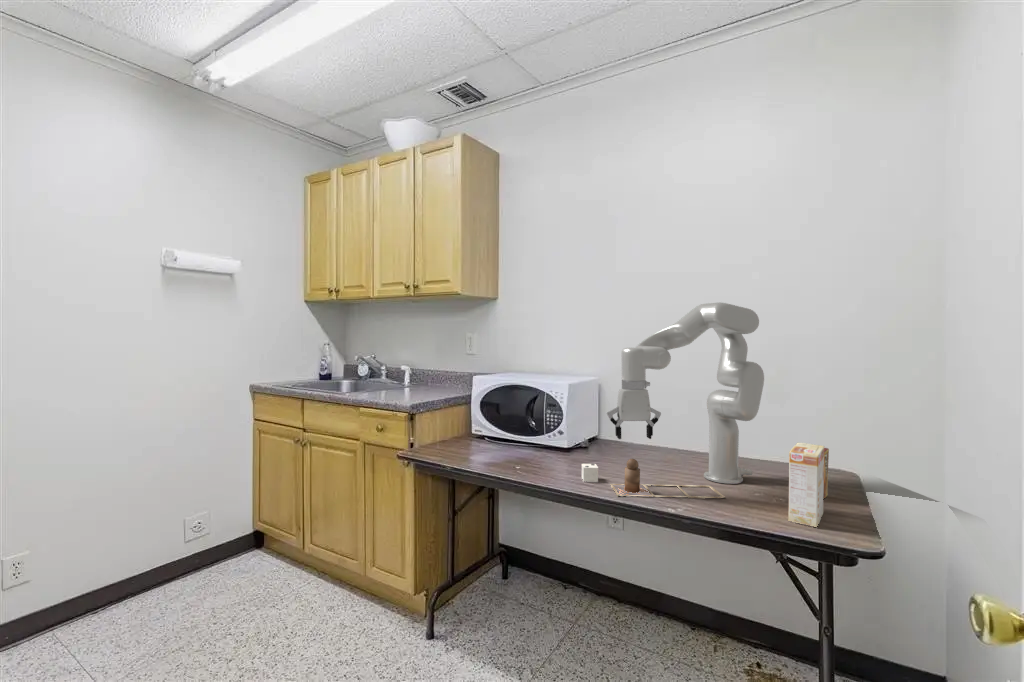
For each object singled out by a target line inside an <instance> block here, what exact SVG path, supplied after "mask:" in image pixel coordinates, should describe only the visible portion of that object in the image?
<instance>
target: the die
mask: <svg viewBox="0 0 1024 682" xmlns="http://www.w3.org/2000/svg"><path fill="white" fill-rule="evenodd" d="M582 479H583V480H582ZM581 480H582V482H583V483H599V466H598V465H597V464H596V463H581ZM584 481H585V482H584ZM586 481H587V482H586Z"/></svg>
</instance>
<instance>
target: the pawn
mask: <svg viewBox="0 0 1024 682" xmlns="http://www.w3.org/2000/svg"><path fill="white" fill-rule="evenodd" d="M624 484H625V487H624V490H625V491H627V492H632V493H636V492H639V491H640V484H641V469H640V468H639V462H638V461H637V460H636V458H630V459H627V461H626V466H625V467H624Z"/></svg>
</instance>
